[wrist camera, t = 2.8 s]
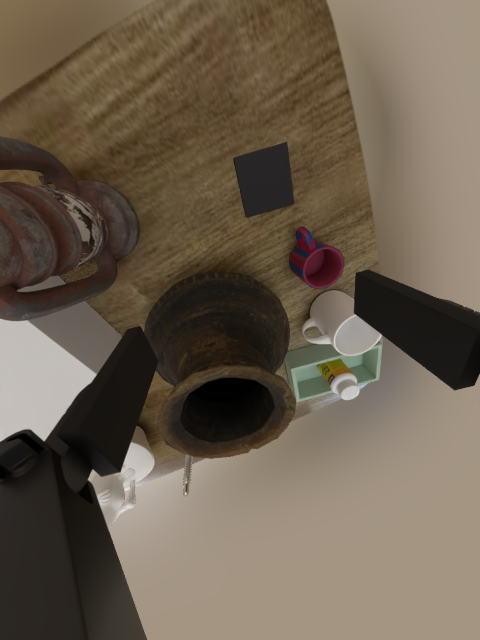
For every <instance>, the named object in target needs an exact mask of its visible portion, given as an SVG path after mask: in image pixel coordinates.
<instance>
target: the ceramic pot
mask: <svg viewBox="0 0 480 640" xmlns="http://www.w3.org/2000/svg"><path fill="white" fill-rule="evenodd" d="M144 334H145V336H146V338H147V340H148V342H149V344H150V346H151V348H152V349H153V351H154V353H155V355H156V357H157V359H158V361H159V362H158V365H157V368H156V372H157V373H158V374H159V375H160V376H161V377H162V378H163V379H164V380H165V381H166V382H168V383H169V384H171V385H172V386H174V387H175V388H174V390H173V391H172V392H171V393H170V395H169V396H168V398H167V399H166V400H165V402H164V403H163V404H162V408H161V411H160V415H159V418H158V427H157V429H158V430H159V432H160V434H161V436H162V438H163V439H164V441H165V443H166V444H167V445H169V446H170V447H172V448H174V449H176V450H177V451H179V452H181V453H183V454H186V455H190V456H193V457H202V458H211V459H212V458H222V457H231V456H235V455H240V454H244V453H248V452H249V451H250V450H251V449H258V448H260V447H262V446H264V445H265V444H268V443H269V442H271V441H273V440H275V439H277V438H278V437H279V436H280V435H281V434H282V432H283V431H284V430H285V429H286V428H287V427H288V425H289V423H290V422H291V420H292V418H293V417H294V415H295V405H296V399H295V397H294V395H293V393H292V391H291V389H290V388H289V386H288V385H287V383H286V381H285V380H284V378H283V377H280V376H278V375H276V374H275V372H276V370H277V369H278V368H279V367H280V366H281V365H282V363H283V361H284V358H285V356H286V354H287V351H288V346H289V338H290V326H289V321H288V317H287V314H286V312H285V310H284V308H283V306H282V304H281V302H280V299H279V298H278V297H277V296H276V295H275V294H274V293H273V292H272V291H270V290H269V289H268V288H267V287H265V286H264V285H263V284H262V283H260V282H258V281H256V280H254V279H252V278H250V277H248V276H245V275H241V274H238V273H216V272H210V273H204V274H199V275H194V276H192V277H190V278H187V279H185V280H183V281H181V282H179V283H178V284H176V285H174V286H172V287H171V288H170V289H169V290H168V291H167V292H166V293H165V294H164V295H163V296H162V297H161V298H160V299H159V300H158V302H157V303H156V304H155V306H154V307H153V308H152V310H151V311H150V312H149V315H148V318H147V321H146V324H145V331H144Z"/></svg>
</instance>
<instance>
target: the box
mask: <svg viewBox="0 0 480 640" xmlns="http://www.w3.org/2000/svg"><path fill="white" fill-rule="evenodd" d="M63 284H66V283H65V282H64V281H63V280H62V279H61V278H60V277H59V276H50V277H49V278H48V279H46V280H45V281H43V282H42V283H39V284H36V285H34V286H28V287H24V288H21V289H19V290H17V291H18V292H30V291H37V290H42V289H47V288H51V287H55V286H59V285H63ZM121 338H122V336H121V335H120V334H119V333H118V332H117V331H116V330H115V329H114V328H113V327H112V326H111V325H110V324H109V323H108V322H107V321H105V320H104V319H103V318H102V317H101V316H100V315H99V314H98V313H97V312H96V311H95V310H94V309H93V308H92V307H91V306H90V305H88V304H87V303H86V302H85V301H83V302H81V303H78V304H76V305H73V306H71V307H69V308H66V309H64V310H61V311H58V312H56V313H53V314H50V315H47V316H43V317H39V318H35V319H31V320H26V321H8V320H3V319H0V442H1V441H2V440H4V439H5V438H7V437H8V436H10V435H12V434H14V433H16V432H18V431H21V430H24V429H31V430H32V431H33V432H34V433H35V434H37V435H38V436H39V437H40V438H41V439H42V440H43V441H45V440H46V438H47V437H48V435H49V434H50V433H51V431H52V430H53V428H54V427H55V426H56V424H57V423H58V421H59V420H60V419H61V417H62V416H63V414H65V413H66V410H67V409H68V407H69V406H70V405H72V402H73V400H74V399H75V398H76V396H77V395H78V393H79V392H80V391H82V390H83V389H84V388H85V387H86V386H87V385H88V384H90V383H91V382H92V381H93V379H94V378H95V376H96V375H97V374H98V372H99V371H100V369H101V368H102V366H103V365H104V363H105V362H106V360H107V359H108V357H109V356H110V354H111V353H112V352H113V350H114V349H115V347H116V346H117V344H118V343H119V341H120V340H121Z"/></svg>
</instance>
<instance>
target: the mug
mask: <svg viewBox="0 0 480 640" xmlns="http://www.w3.org/2000/svg"><path fill="white" fill-rule="evenodd" d="M313 326H316V327H317V328H318V329H319V330H320V332H321V333H322V334H323V335H322V336H319V337H315V338H309V337H307V336H305V334H304V331H305V330H306V329H307V328H309V327H313ZM301 331H302V335H303V337H304V338H305V339H306V340H307V341H309V342H311V343H315V344H331V345H332V346H333V347H334V348H335V349H336V350H337V351H338V352H339V353H340V354H343V355H346V356H355V355H359V354H362V353H364V352H366V351H368V350H369V349H371V348H372V347H373V346H374V345H375V344H376V343H377V342H378V341H379V339H380V338H381V336H382V334H380V333H379V332H378V331H376V330H375V329H374V328H372V327H371V326H370V325H368V324H367V323H366V322H365V321H363V320H362V319H361V318H359V317H358V316H357V315H355V314H354V299H353V298H351V297H350V296H348V295H347V294H345V293H343V292H341V291H337V290H331V291H327V292H324V293H322V294H321V295H319V296H318V297H317V298H316V299H315V300H314V302H313V303H312V305H311V308H310V319H308V320H307V321H306V322H305V323H304V324H303V326H302V330H301Z"/></svg>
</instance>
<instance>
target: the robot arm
mask: <svg viewBox="0 0 480 640" xmlns="http://www.w3.org/2000/svg"><path fill="white" fill-rule="evenodd" d="M354 314H355V315H357V316H358V317H359V318H361V319H362V320H363V321H365V322H366V323H367V324H368V325H370V326H371V327H372V328H374V329H375V330H376V331H378V332H379V333H380V334H382V335H383V336H384V337H385V338H387V339H388V340H389V341H391V342H392V343H393V344H395V345H396V346H397V347H399V348H400V349H401V350H402V351H404V352H405V353H406V354H408V355H409V356H410V357H412V358H413V359H414V360H416V361H417V362H418V363H420V364H421V365H422V366H423V367H425V368H426V369H427V370H429V371H430V372H431V373H433V374H434V375H435V376H437V377H438V378H439V379H440V380H442V381H443V382H444V383H446V384H447V385H448V386H450V387H451V388H452V389H454V390H458V389H462V388H466V387H470V386H474V385H475V383H476V381H477V378H478V376H479V374H480V313H479V312H474V310H472V309H469V308H467V307H463V306H462V305H459V304H457V303H454V302H452V301H449V300H444V299H439V298H436V297H433V296H431V295H429V294H426V293H424V292H421V291H419V290H416V289H414V288H412V287H409V286H407V285H404V284H402V283H399V282H397V281H395V280H392V279H390V278H387V277H385V276H382V275H380V274H378V273H375V272H373V271H370V270H365V271H361V272H357V273H356V278H355V297H354ZM158 362H159V361H158V359H157V357H156V355H155V353H154V351H153V349H152V348H151V346H150V344H149V342H148V340H147V338H146V336H145V334H144V332H143V330H142V328H141V327H140V326H139V327H135V328H131V329H128V330H127V331H126V332H125V334H124V335H123V337H122V338H121V340H120V341H119V343H118V344H117V346H116V347H115V349H114V350H113V352H112V353H111V354H110V356H109V357H108V359H107V360H106V362H105V363H104V365H103V366H102V368H101V369H100V371H99V372H98V374H97V375H96V376H95V378H94V379H93V381H92V382H91V383H90V384H88V385H87V386H86V387H85V388H84V389H83V390H82V391H80V392H79V393H78V395H77V396H76V398H75V399H74V400H73V402H72V405H70V406H69V407H68V409H67V410H66V413H65V414H63V416H62V417H61V419H60V420H59V421H58V423H57V424H56V426H55V427H54V428H53V430H52V431H51V433H50V434H49V435H48V437H47V438H46V440H45V441H43V440H42V439H41V438H40V437H39V436H38V435H37V434H35V433H34V432H33V431H32V430H31V429H24V430H21V431H18V432H16V433H14V434H12V435H10V436H8V437H7V438H5V439H4V440H2V441H1V442H0V640H147V638H146V635H145V633H144V630H143V627H142V624H141V621H140V618H139V616H138V613H137V610H136V607H135V604H134V601H133V598H132V595H131V592H130V590H129V587H128V584H127V581H126V578H125V575H124V572H123V570H122V567H121V564H120V561H119V558H118V556H117V553H116V550H115V547H114V544H113V541H112V538H111V535H110V533H109V530H108V527H107V524H106V521H105V518H104V515H103V512H102V510H101V507H100V504H99V501H98V498H97V495H96V492H95V490H94V487H93V484H92V483H91V482H90V481H89V480H88V478H89V476H90V474H91V472H92V470H94V471H95V472H96V473H97V474H98V475H100V476H101V477H103V476H107V475H111V474H116V473H120V472H121V470H122V467H123V464H124V461H125V458H126V455H127V452H128V449H129V446H130V443H131V440H132V438H133V435H134V432H135V429H136V426H137V423H138V420H139V417H140V414H141V411H142V408H143V406H144V403H145V400H146V397H147V394H148V391H149V388H150V385H151V382H152V379H153V376H154V373H155V371H156V368H157V365H158Z"/></svg>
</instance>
